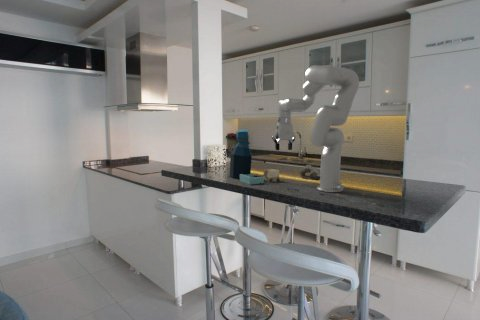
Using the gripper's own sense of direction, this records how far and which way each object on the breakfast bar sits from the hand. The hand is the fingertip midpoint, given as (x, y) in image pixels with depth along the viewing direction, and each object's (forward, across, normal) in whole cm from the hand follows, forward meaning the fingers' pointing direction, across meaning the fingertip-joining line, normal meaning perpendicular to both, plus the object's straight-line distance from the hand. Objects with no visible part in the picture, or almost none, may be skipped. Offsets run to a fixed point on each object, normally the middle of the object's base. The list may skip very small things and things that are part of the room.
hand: (283, 149), depth 183 cm
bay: (+18, -22, 0) cm, 28 cm away
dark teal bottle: (+18, -19, +21) cm, 33 cm away
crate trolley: (+18, -9, 0) cm, 20 cm away
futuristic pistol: (+18, +17, -6) cm, 26 cm away
